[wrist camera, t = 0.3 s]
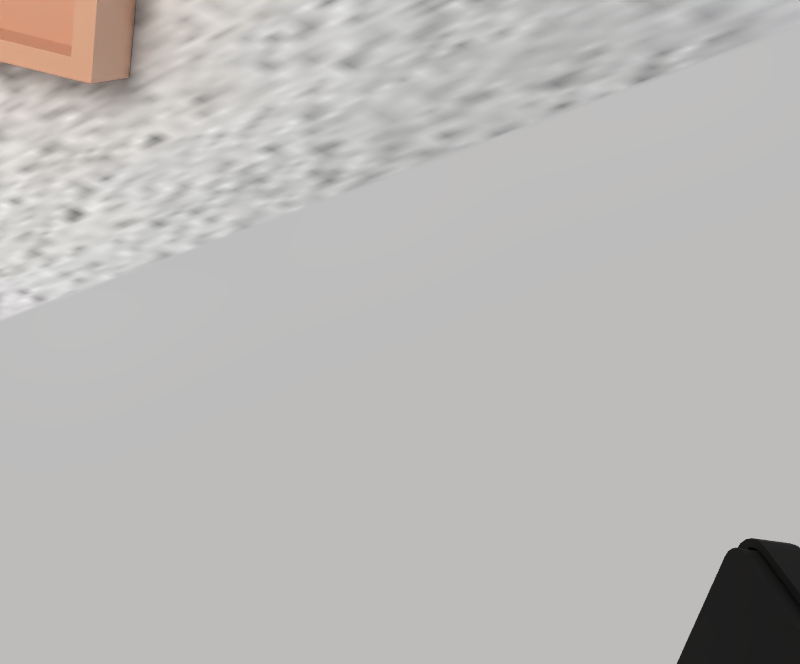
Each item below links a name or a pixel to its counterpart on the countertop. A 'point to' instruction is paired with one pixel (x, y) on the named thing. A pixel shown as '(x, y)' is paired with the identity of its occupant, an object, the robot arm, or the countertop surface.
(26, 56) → the salmon open box
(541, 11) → the countertop surface
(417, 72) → the countertop surface
